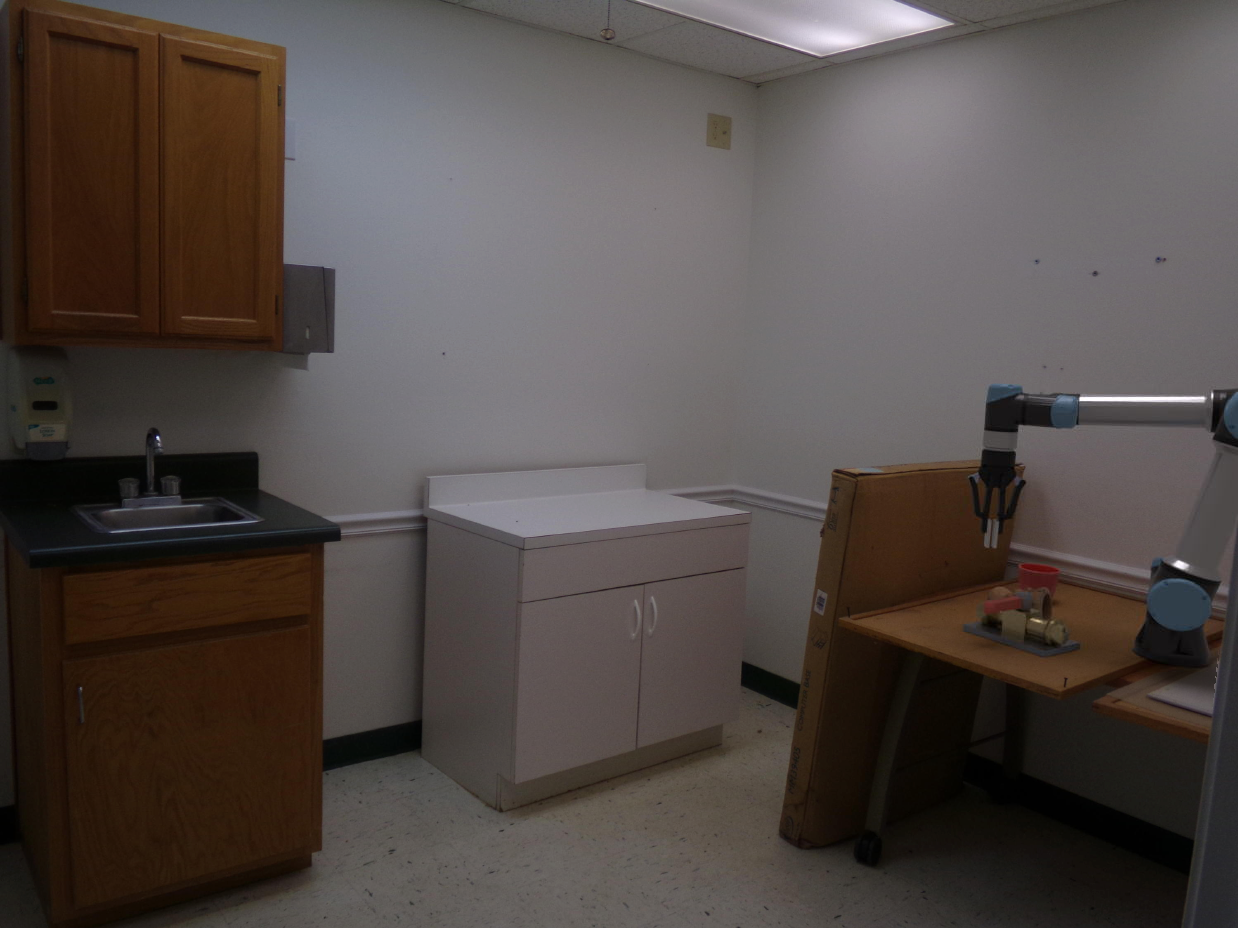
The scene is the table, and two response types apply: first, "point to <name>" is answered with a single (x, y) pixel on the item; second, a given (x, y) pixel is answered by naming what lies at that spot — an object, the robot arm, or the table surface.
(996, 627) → the valve
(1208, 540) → the robot arm
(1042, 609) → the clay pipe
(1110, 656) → the table surface
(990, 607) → the lever
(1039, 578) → the flower pot
